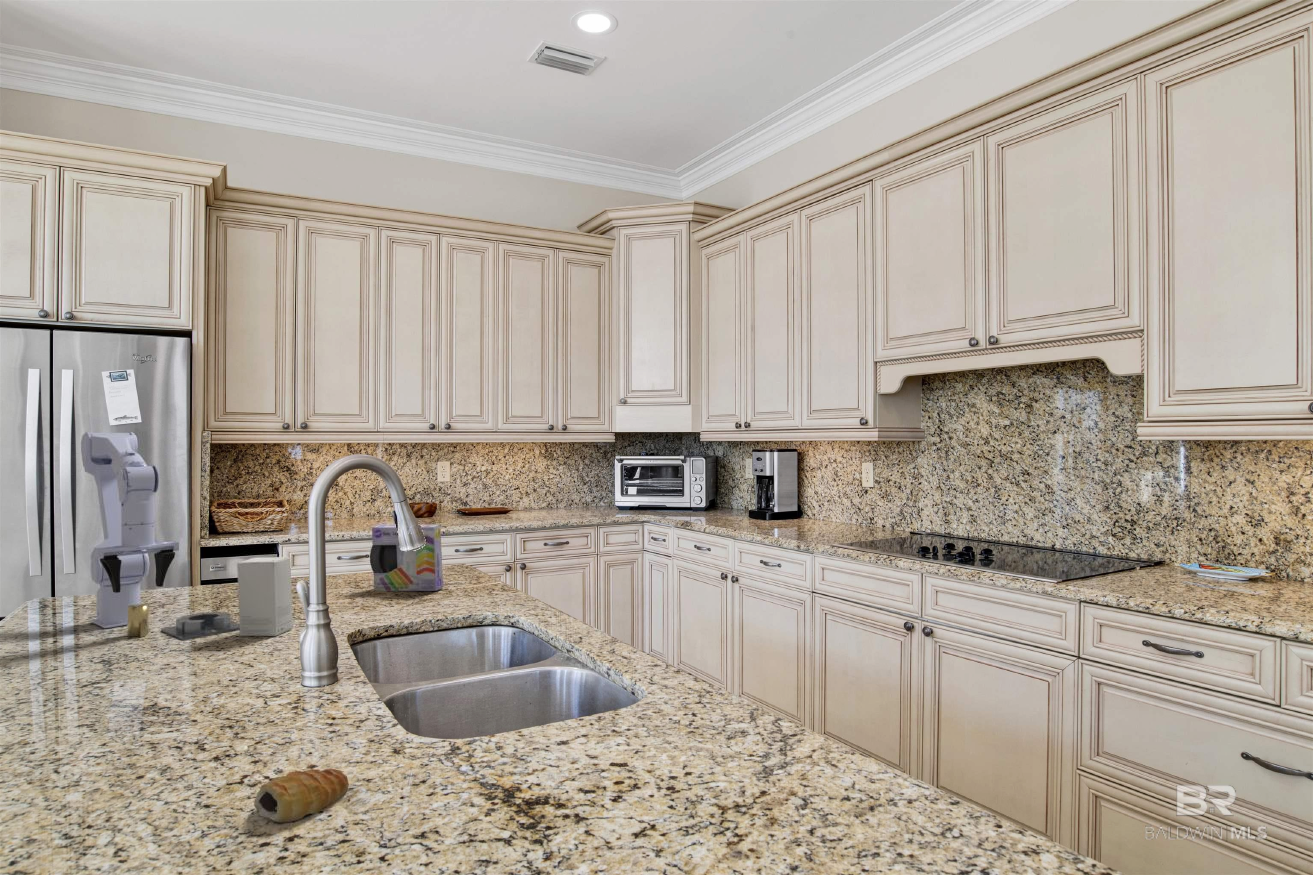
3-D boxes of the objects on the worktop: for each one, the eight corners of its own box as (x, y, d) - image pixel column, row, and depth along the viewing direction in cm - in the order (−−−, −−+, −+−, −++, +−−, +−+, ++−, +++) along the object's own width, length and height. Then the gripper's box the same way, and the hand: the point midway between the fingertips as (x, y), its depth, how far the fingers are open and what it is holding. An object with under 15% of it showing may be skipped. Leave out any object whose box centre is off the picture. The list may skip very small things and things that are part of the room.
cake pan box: (368, 590, 199) (368, 524, 199) (378, 586, 204) (378, 522, 204) (435, 593, 196) (435, 526, 196) (443, 589, 201) (443, 524, 201)
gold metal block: (125, 634, 154) (125, 605, 154) (145, 631, 156) (145, 602, 156) (133, 638, 151) (133, 609, 151) (153, 634, 153) (153, 606, 154)
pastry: (327, 780, 88) (328, 748, 88) (362, 796, 85) (362, 762, 85) (248, 813, 81) (248, 778, 81) (282, 832, 77) (282, 795, 77)
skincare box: (293, 629, 158) (293, 556, 158) (274, 637, 152) (274, 561, 152) (256, 628, 159) (256, 556, 159) (236, 636, 152) (236, 561, 152)
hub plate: (161, 630, 157) (161, 618, 157) (222, 619, 166) (222, 607, 166) (183, 640, 149) (183, 626, 149) (245, 628, 159) (245, 615, 159)
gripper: (102, 528, 146) (102, 597, 146) (184, 521, 157) (184, 585, 157) (91, 526, 150) (91, 593, 150) (172, 520, 162) (172, 582, 161)
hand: (138, 589), depth 154 cm, fingers open, 7 cm apart
